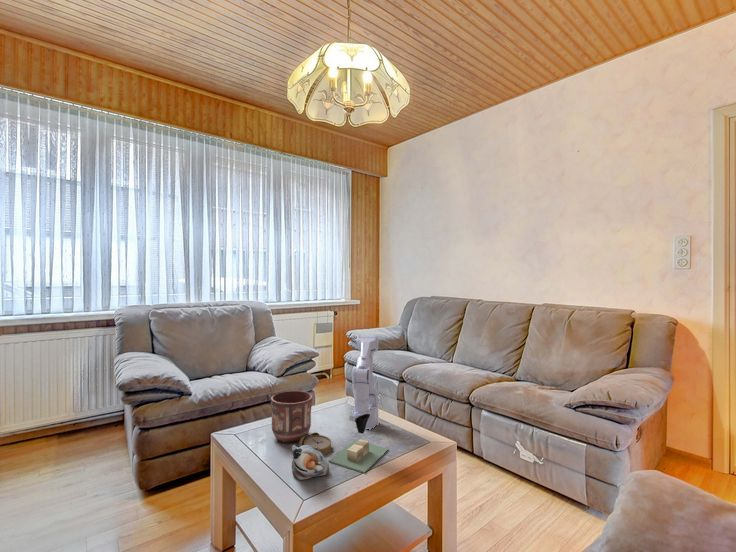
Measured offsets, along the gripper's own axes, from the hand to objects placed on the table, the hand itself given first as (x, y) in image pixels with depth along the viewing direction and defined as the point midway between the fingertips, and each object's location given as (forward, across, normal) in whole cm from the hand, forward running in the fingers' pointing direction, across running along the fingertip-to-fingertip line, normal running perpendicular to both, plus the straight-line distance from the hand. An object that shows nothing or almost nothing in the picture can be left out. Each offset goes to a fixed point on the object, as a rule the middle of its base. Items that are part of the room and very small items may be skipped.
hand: (361, 432), depth 144 cm
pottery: (+9, -2, +34) cm, 35 cm away
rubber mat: (+9, -1, 0) cm, 9 cm away
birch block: (+6, +3, 0) cm, 7 cm away
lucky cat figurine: (+9, -21, +8) cm, 25 cm away
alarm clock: (+9, -5, +19) cm, 22 cm away
